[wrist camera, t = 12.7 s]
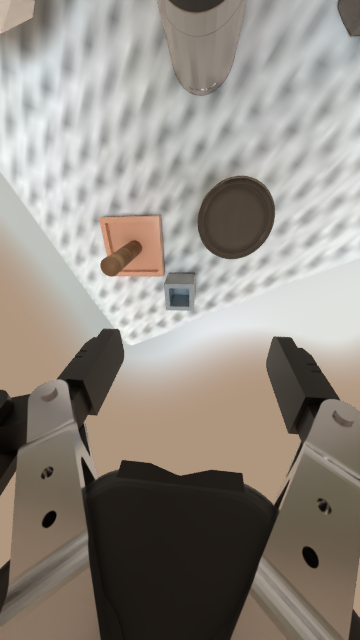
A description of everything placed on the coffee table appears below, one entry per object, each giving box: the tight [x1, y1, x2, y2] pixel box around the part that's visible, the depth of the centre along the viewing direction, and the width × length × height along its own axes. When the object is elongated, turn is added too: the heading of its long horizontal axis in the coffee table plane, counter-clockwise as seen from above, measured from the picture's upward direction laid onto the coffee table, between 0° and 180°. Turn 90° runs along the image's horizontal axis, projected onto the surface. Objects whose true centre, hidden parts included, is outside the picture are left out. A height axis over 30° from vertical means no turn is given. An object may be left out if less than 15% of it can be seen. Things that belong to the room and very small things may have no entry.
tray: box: [99, 215, 165, 276], centre depth 44 cm, size 12×12×2 cm
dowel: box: [101, 240, 142, 276], centre depth 38 cm, size 3×3×14 cm
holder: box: [164, 273, 195, 311], centre depth 46 cm, size 6×6×7 cm
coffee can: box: [198, 176, 275, 259], centre depth 34 cm, size 10×10×14 cm
